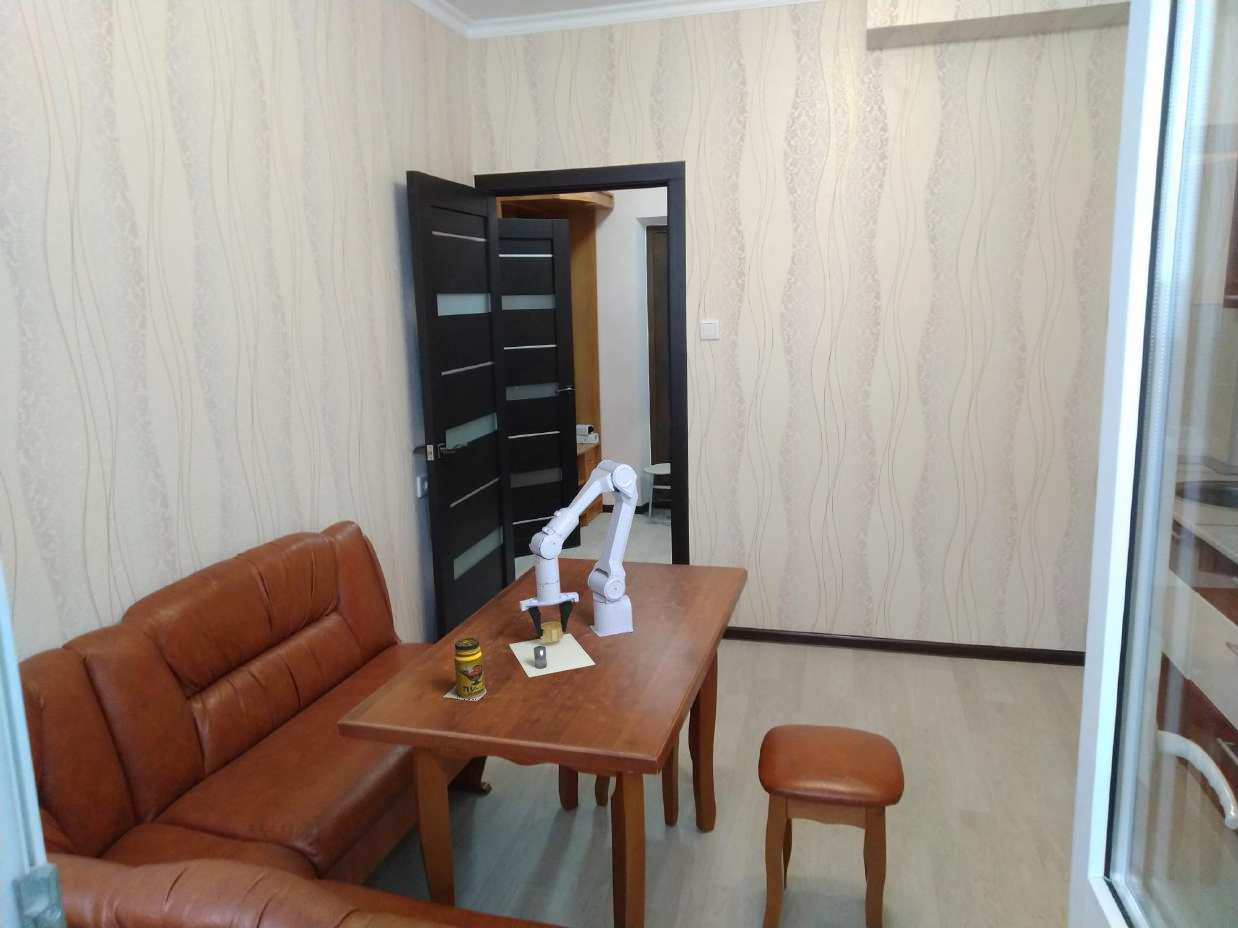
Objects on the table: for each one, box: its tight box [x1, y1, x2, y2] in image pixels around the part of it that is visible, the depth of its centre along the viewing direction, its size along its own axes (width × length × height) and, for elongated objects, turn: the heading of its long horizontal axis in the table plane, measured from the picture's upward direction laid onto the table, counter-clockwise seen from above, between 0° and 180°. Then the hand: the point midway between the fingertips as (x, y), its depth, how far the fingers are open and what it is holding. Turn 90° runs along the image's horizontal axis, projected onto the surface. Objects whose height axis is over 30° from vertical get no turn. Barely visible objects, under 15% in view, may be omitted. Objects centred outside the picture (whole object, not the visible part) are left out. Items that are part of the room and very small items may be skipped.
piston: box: [534, 646, 547, 669], centre depth 198 cm, size 3×3×4 cm
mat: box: [508, 633, 596, 678], centre depth 206 cm, size 16×21×1 cm
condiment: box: [443, 637, 488, 702], centre depth 187 cm, size 7×8×12 cm
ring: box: [539, 621, 564, 642], centre depth 211 cm, size 6×6×3 cm
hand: (551, 632), depth 211 cm, fingers closed on ring, 6 cm apart
